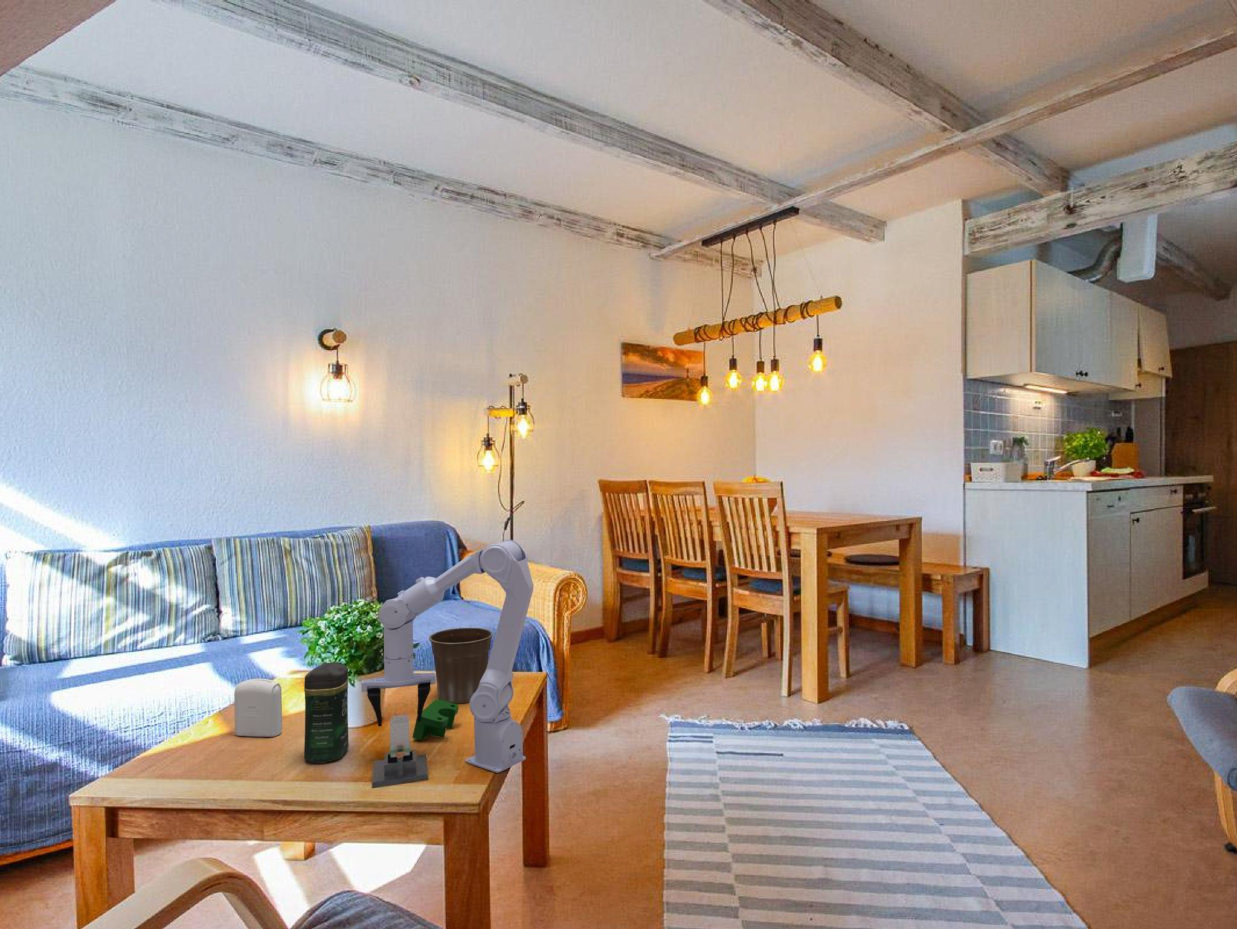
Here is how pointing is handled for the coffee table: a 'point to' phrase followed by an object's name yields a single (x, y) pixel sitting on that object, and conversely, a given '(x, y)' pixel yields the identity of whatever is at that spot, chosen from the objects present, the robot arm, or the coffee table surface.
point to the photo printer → (258, 708)
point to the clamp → (435, 719)
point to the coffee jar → (326, 712)
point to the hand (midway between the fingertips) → (399, 722)
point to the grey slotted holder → (400, 769)
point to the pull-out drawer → (399, 735)
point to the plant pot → (460, 661)
